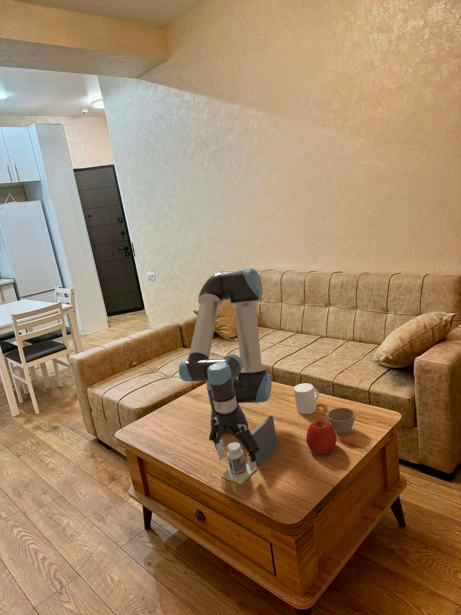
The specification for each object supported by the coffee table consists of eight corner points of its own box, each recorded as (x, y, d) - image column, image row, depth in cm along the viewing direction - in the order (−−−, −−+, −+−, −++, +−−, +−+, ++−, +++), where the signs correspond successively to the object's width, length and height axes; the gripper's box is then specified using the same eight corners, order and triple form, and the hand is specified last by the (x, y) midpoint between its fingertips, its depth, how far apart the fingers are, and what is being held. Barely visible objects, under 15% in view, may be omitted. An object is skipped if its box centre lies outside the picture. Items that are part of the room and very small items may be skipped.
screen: (252, 462, 148) (246, 433, 145) (271, 443, 158) (267, 414, 155) (261, 465, 146) (255, 435, 143) (280, 445, 155) (276, 417, 152)
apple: (339, 457, 143) (336, 429, 140) (308, 458, 145) (304, 432, 142) (336, 438, 153) (333, 413, 150) (307, 440, 155) (303, 415, 153)
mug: (289, 389, 175) (308, 378, 182) (293, 410, 178) (311, 399, 185) (304, 394, 169) (323, 382, 176) (307, 416, 171) (326, 404, 178)
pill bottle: (249, 466, 145) (244, 442, 143) (243, 477, 140) (238, 452, 138) (234, 465, 148) (229, 440, 145) (228, 475, 143) (222, 450, 140)
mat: (221, 476, 144) (220, 475, 144) (236, 462, 150) (236, 460, 150) (241, 484, 138) (241, 483, 138) (257, 468, 145) (256, 467, 144)
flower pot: (358, 437, 151) (356, 420, 150) (330, 439, 154) (327, 422, 152) (355, 423, 161) (353, 406, 159) (329, 424, 163) (327, 408, 161)
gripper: (191, 407, 143) (203, 460, 148) (249, 421, 127) (260, 480, 133) (206, 397, 149) (217, 448, 154) (263, 409, 133) (273, 466, 138)
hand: (237, 463), depth 143 cm, fingers open, 13 cm apart
